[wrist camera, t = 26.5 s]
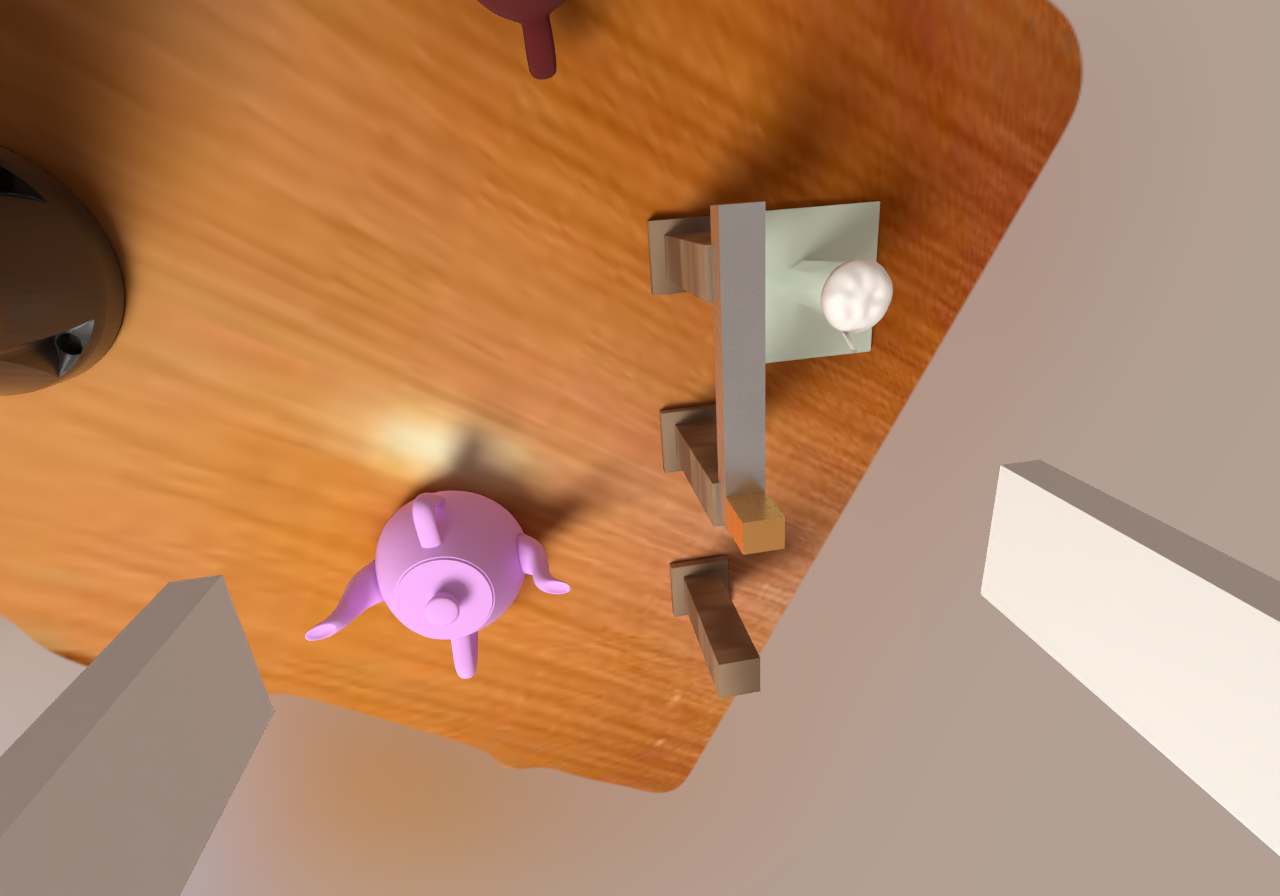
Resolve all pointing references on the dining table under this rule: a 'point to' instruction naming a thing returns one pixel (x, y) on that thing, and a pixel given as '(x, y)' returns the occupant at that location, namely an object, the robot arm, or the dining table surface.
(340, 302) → the dining table surface
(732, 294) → the bar
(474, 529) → the teapot
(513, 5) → the mug
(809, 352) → the mat
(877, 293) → the milkshake
